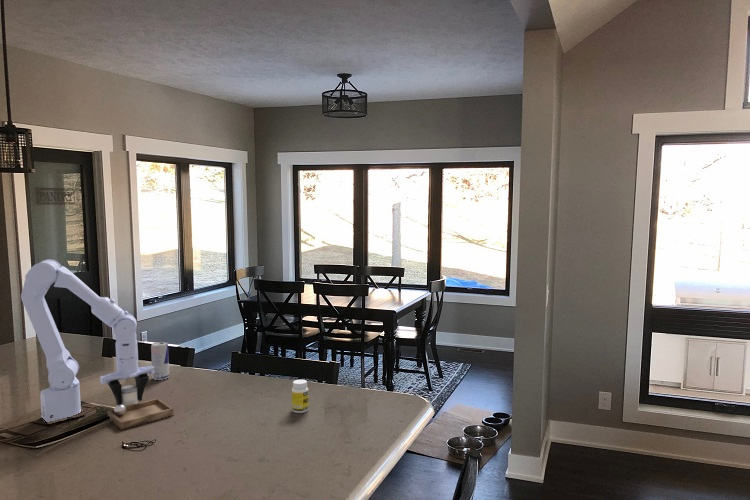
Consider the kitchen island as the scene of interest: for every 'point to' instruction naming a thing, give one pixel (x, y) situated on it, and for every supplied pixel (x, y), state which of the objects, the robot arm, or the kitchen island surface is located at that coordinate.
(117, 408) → the steel ball
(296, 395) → the supplement bottle
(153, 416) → the tray
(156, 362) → the energy drink
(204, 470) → the kitchen island surface
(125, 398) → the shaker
